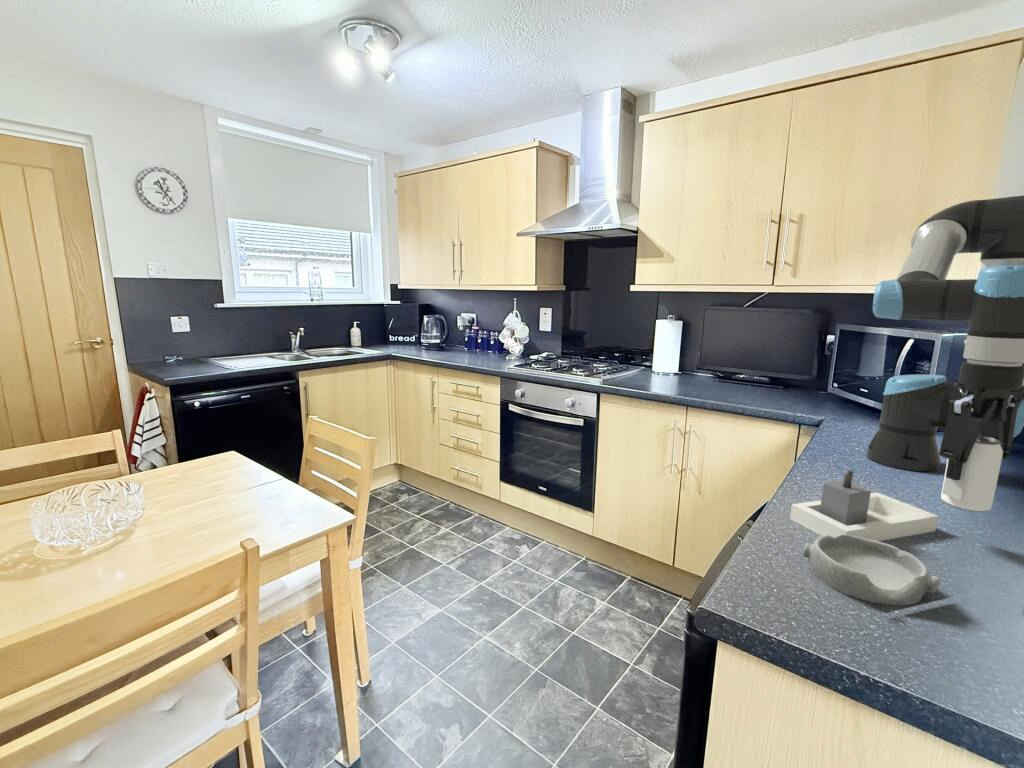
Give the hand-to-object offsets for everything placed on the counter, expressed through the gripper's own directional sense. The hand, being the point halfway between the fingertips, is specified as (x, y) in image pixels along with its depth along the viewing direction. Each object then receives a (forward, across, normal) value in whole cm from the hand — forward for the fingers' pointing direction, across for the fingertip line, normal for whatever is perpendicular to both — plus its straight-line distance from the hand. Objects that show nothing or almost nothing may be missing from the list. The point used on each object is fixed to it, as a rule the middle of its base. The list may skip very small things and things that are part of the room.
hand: (967, 493), depth 83 cm
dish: (+9, +29, +4) cm, 30 cm away
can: (+2, 0, 0) cm, 2 cm away
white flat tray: (+9, +12, -9) cm, 17 cm away
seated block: (+8, +17, -9) cm, 21 cm away
